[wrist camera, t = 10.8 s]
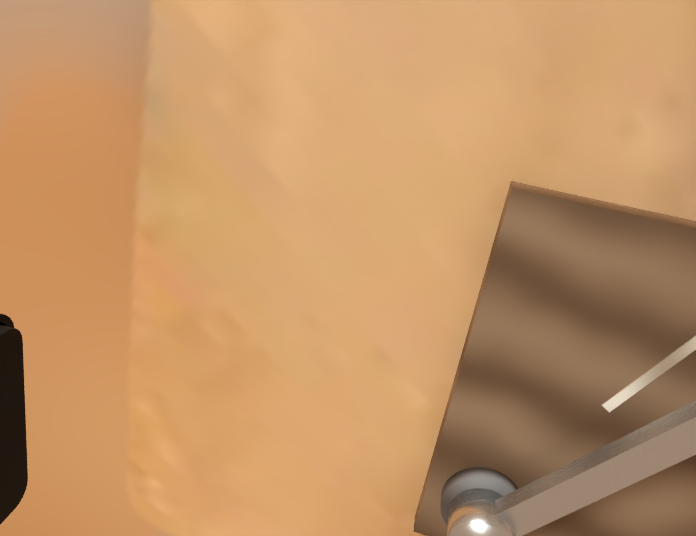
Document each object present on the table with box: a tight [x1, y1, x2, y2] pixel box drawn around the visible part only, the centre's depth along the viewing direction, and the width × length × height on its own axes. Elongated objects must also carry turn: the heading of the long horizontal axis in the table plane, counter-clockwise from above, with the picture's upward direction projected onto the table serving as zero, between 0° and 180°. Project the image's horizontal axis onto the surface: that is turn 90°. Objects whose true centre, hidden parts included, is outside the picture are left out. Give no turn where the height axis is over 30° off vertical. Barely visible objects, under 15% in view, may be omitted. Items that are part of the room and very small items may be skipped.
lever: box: [447, 400, 696, 536], centre depth 34 cm, size 20×4×7 cm, turn 130°
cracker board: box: [414, 181, 696, 536], centre depth 37 cm, size 24×19×2 cm
